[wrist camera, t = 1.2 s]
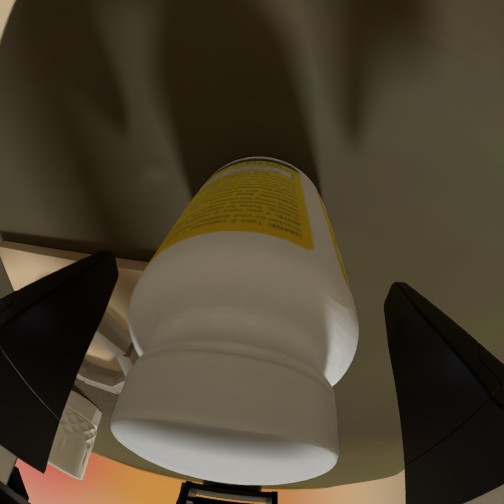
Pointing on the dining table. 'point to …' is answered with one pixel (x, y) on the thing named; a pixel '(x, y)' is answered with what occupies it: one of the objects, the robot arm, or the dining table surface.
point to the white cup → (75, 436)
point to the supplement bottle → (241, 334)
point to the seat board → (57, 259)
